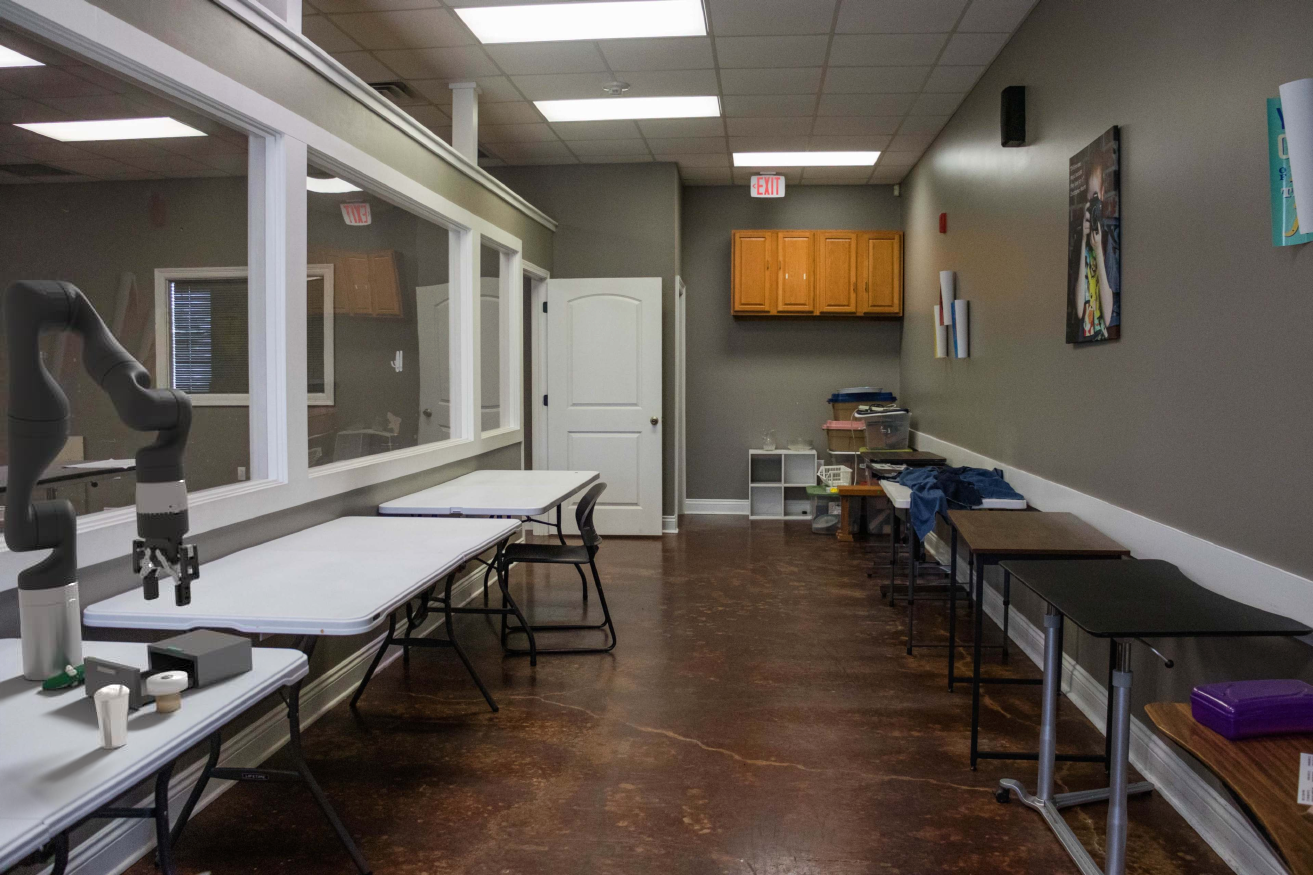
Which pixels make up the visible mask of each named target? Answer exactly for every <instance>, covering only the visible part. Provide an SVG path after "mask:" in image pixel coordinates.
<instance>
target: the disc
mask: <svg viewBox="0 0 1313 875" xmlns="http://www.w3.org/2000/svg"><path fill="white" fill-rule="evenodd" d="M187 678H188V673H187V672H186V671H181V670H171V671H168V672H164V673H160V674H156V675H154V676H151V677H149V678H148V679H147V680H146V683H147V693H148V694H149V695H167V694H172V693H176V692H179V691H180V692H181V691H184V690H186V689H185V688H187V687H188V679H187ZM187 689H188V688H187Z"/></svg>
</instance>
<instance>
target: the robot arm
mask: <svg viewBox="0 0 1313 875" xmlns="http://www.w3.org/2000/svg"><path fill="white" fill-rule="evenodd" d="M2 313H3V314H2V317H3V318H2V319H3V329H4V336H5V337H4V338H5V339H4V340H5V347H6V348H5V349H6V357H7V403H6V404H7V406H6V439H7V440H6V441H7V442H6V443H7V444H6V445H7V446H6V447H7V477H6V478H7V480H6V490H5V500H4V502H5V503H4V509H3V510H4V512H3V537H4V538H3V539H4V543H5V545H6V547H7V549H8V550H10V551H11V552H13V553H27V552H28V553H29V552H34V551H43V550H50V549H51V550H52V552H51V553H50V554H49V555H48V556H47V557H46V558H44V559H43V560H42V561H40V562H38V563H36V564H34V565H32V566H29V567H27V568H25V569H23V570H22V571H20V572H19V573H18V575H17V592H18V603H19V616H20V617H19V618H20V619H19V620H20V628H19V629H20V639H21V652H22V653H21V655H22V668H23V671H22V672H23V675H24V676H23V677H24V679H25V680H27V681H28V680H29V681H46V680H47V679H49V678H51V677H53V676H56V675H58V674H60V673H62V672H63V671H64V670H65V669H66V666H68V665H70V666H71V667H72V668H74V667H77V666H79V665H82V664H84V662H83V658H84V656H83V643H82V642H83V641H82V630H81V629H82V628H81V626H82V625H81V614H80V613H81V612H80V596H79V582H78V554H77V552H78V551H77V549H78V547H77V545H78V544H77V537H78V536H77V535H78V534H77V533H78V532H77V531H78V527H77V522H78V520H77V513H76V510H75V507H74V505H73V504H72V502H71V501H70V500H69V499H65V498H64V499H63V498H60V499H59V498H58V499H46V500H40V501H39V500H37V501H31V499H32V497H33V496H32V495H33V493H34V490H35V488H36V486H37V484H38V482H39V480H40V479H41V477H42V475H44V473H45V471H46V470H47V469H48V468H49V467H50V465H51V464H52V463H53V462H54V461H55V460H56V458H58V456H59V455H60V453H61V452H62V451H63V449H64V448H65V446H66V444H67V443H68V441H69V437H70V426H71V425H70V424H71V422H70V418H71V406H70V402H69V399H68V398H67V396H66V394H65V392H64V391H63V389H62V388H61V387H60V385H59V384H58V383H57V382H56V381H55V379H54V378H53V376H52V375H51V374H50V372H49V371H48V370H47V368H46V366H45V364H44V362H43V360H42V357H41V356H42V355H41V351H40V335H42V334H44V335H45V334H62V333H71V334H72V335H74V336H75V337H76V338H78V339H79V340H81V341H82V350H81V360H82V366H83V367H84V370H85V372H86V374H88V376H89V377H90V378H91V379H92V380H93V381H94V383H95V384H97V385H98V386H99V387H100V388H101V389H102V390H103V391H104V392H105V393H106V394H108V396H109V398H110V400H111V403H112V404H113V406H114V409H115V411H116V413H117V415H118V417H119V419H120V421H121V422H122V423H123V424H124V425H125V426H126V427H128V428H129V429H131V430H134V431H135V432H141V433H142V432H143V433H146V432H148V433H149V432H157V435H156V437H155V440H154V442H152V443H150V444H147V445H144V446H142V447H140V448H138V449H137V450H136V452H135V457H134V462H135V480H136V481H135V482H136V486H135V488H136V489H135V510H136V511H135V512H136V513H135V514H136V515H135V517H136V528H137V529H136V531H137V536H138V537H139V538H138V539H133V540H132V572H133V574H135V575H138V574H139V578H140V579H142V587H143V588H142V590H143V591H142V592H143V599H144V600H145V601H152V600H157V599H158V598H159V597H160V591H159V590H160V588H159V587H160V586H159V576H158V575H159V573H160V570H161V569H164V570H165V572H166V573H167V575H171V577H172V579H173V581H174V597H175V598H174V599H175V606H176V607H180V608H181V607H185V606H188V605H190V604H191V601H192V595H191V594H192V592H191V583H192V582H193V581H195V580H199V579H200V577H201V576H200V573H201V572H200V565H199V564H200V563H199V554H198V553H199V552H198V545H197V544H196V543H191V544H190V543H189V544H185V542H184V539H183V537H184V536H185V535H187V534H188V533H189V531H190V524H189V523H190V521H189V519H190V518H189V503H188V502H189V501H188V490H187V485H186V480H185V477H186V476H185V475H186V474H185V458H184V457H185V456H184V455H185V451H186V447H187V445H188V439H189V435H190V431H191V427H192V423H193V417H194V409H193V408H194V407H193V405H192V401H191V399H190V398H189V396H188V395H187V393H185V391H183V390H181V389H179V388H171V387H169V388H151V387H152V384H153V382H152V376H151V374H150V372H149V371H148V370H147V369H146V367H145V366H143V365H142V364H141V363H140V362H139V361H138V360H137V359H136V358H135V357H134V356H133V355H131V354H130V352H128V351H127V350H126V349H125V348H124V346H122V345H121V344H120V343H119V341H118V340H117V339H116V338H115V337H114V335H113V334H112V333H111V331H110V329H109V327H108V326H107V325H106V323H104V320H103V319H102V318H101V316H100V315H99V314H98V312H97V311H96V309H95V308H94V307H93V305H91V303H90V302H89V300H88V299H87V297H86V296H85V294H84V293H83V292H82V291H81V290H80V289H79V288H78V287H77V286H75V285H74V284H73V283H71V282H68V281H64V280H49V279H47V280H44V279H39V280H36V279H35V280H29V279H27V280H14V281H11V282H9V283H8V284H7V286H6V288H5V290H4V292H3V297H2ZM141 560H142V562H141ZM190 567H191V571H190V569H189V568H190Z"/></svg>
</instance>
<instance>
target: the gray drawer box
mask: <svg viewBox="0 0 1313 875" xmlns="http://www.w3.org/2000/svg"><path fill="white" fill-rule="evenodd" d="M146 646H147V647H146V648H147V649H146V652H147V667H148V669H147V670H149V669H154V670H158V671H162V672H170V671H175V670H176V669H177V670H178V669H180V668H184V667H186V666H189V665H192V664H194V666H193V668H194V682H195V684H194V685H195V688H197V689H201V688H205V687H208V686H210V685H213V684H215V683H218V682H221V681H223V680H226V679H227V680H228V679H229V678H233V677H235V676H238V675H241V674H244V673H246V672H247V673H248V672H249V671H252V670H253V650H252V639H251V638H249V637H245V636H238V635H235V634H234V635H233V634H229V633H223V632H220V631H218V632H217V631H213V630H208V629H204V628H203V629H202V628H201V629H197V630H195V631H190V632H187V633H184V634H181V635H177V636H173V637H170V638H166V639H163V640H160V641H157V642H152V643H150V644H146Z"/></svg>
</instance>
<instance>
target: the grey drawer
mask: <svg viewBox="0 0 1313 875" xmlns="http://www.w3.org/2000/svg"><path fill="white" fill-rule="evenodd" d="M98 658H99V657H98ZM98 658H94V657H92V656H85V657H83V664H84V678H85V681H84V690H85V692H84V693H85V696H87V697H92V698H94V695H95V693H96V692H97V691H98V690H99V689H102V688H104V687H106V686H109V685H123V686H125V687H127V688H128V689H129V706H128V708H131V709H135V710H138V709H141V708H143V705H144V704H147V703H150V702H153V701H156V695H149V694H148V693H147V683H146V680H147V679H148V678H149V677H151V676H154V675H156V674H160V673H164V672H162V671H158V670H154V669H146V670H144V671H143V670H142V671H141V668H139V667H134V666H131V665H126V664H122V663H119V662H114V661H110V660H106V659H101V658H99V659H98ZM187 679H188V687H187V688H185V689H184V690H187V689H189V688H192V687H193V686H194V684H193V678H190V677H187Z"/></svg>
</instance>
